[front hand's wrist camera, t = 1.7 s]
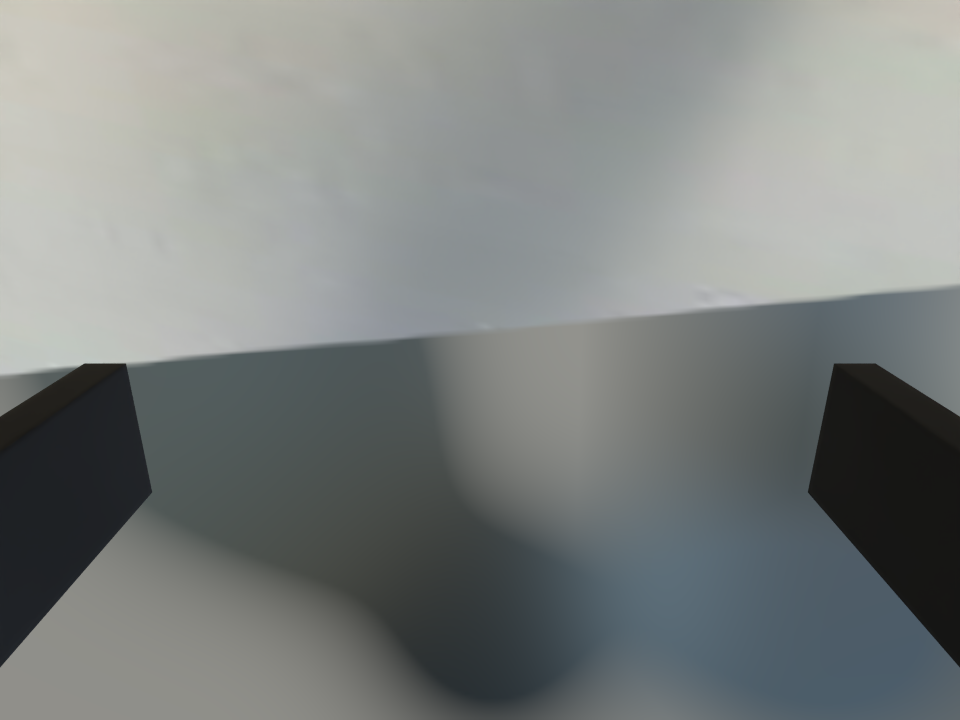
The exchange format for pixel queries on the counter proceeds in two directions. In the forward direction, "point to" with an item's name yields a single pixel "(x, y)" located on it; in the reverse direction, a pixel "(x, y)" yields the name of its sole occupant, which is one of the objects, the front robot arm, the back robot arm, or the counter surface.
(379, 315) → the counter surface
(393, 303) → the counter surface
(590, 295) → the counter surface
